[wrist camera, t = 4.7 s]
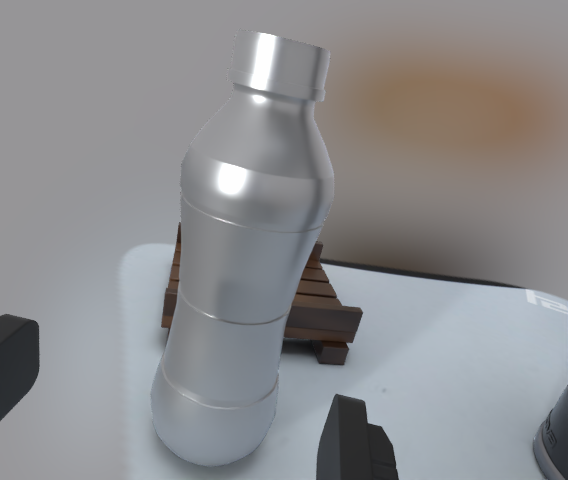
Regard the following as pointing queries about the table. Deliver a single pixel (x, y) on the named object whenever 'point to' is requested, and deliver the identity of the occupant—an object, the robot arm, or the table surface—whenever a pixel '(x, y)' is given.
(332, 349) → the wooden slatted rack
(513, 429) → the table surface
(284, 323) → the silver metal bottle
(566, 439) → the robot arm
